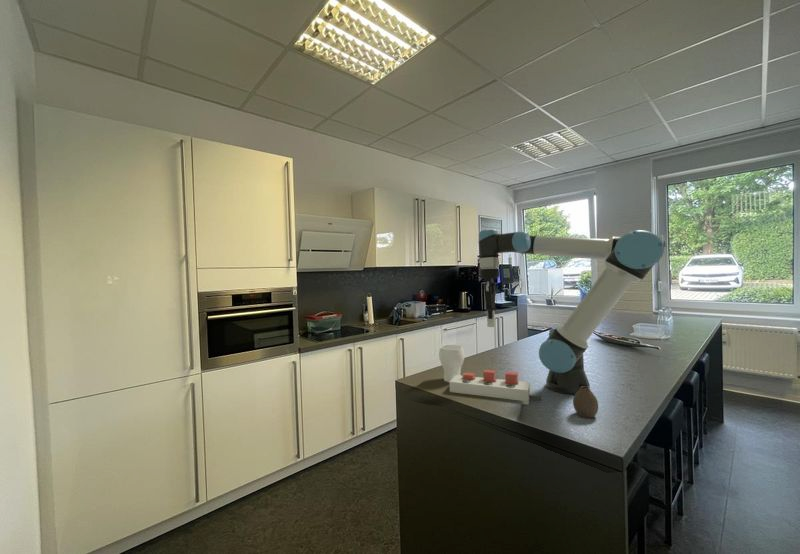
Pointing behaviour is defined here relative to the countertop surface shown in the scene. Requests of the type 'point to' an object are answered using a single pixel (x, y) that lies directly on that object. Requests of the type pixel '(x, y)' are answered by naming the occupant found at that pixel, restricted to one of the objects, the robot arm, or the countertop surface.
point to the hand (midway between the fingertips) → (491, 326)
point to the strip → (493, 388)
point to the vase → (585, 402)
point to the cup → (451, 360)
